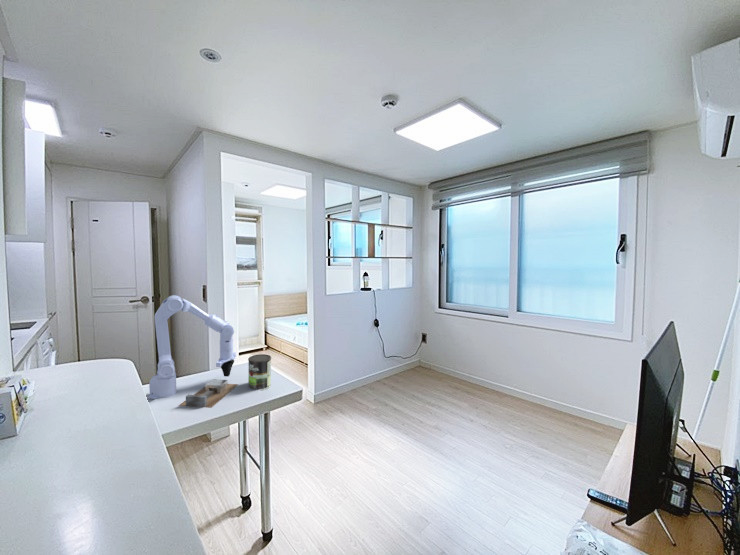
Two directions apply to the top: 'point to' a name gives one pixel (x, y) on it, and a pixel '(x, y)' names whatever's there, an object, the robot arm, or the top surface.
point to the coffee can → (259, 371)
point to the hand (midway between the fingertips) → (226, 375)
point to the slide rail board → (214, 397)
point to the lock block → (216, 385)
